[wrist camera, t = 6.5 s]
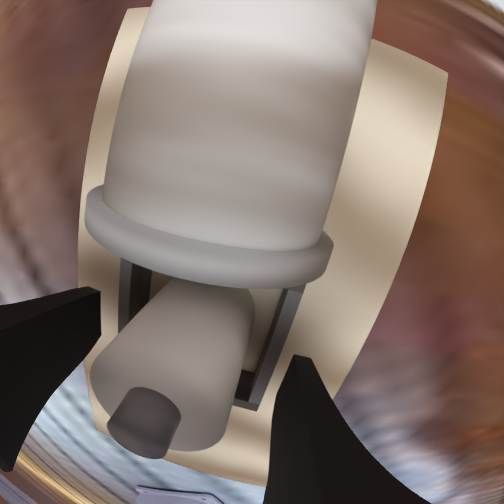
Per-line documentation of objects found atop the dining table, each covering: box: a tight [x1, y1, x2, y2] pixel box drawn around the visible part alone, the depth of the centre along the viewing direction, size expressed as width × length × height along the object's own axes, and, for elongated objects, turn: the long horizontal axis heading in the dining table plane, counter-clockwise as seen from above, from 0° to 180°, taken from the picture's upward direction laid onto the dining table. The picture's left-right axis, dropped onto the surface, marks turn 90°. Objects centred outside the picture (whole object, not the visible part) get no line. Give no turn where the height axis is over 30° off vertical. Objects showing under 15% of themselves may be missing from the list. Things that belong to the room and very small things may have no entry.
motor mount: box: [78, 0, 448, 487], centre depth 10 cm, size 27×14×7 cm, turn 166°
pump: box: [90, 277, 255, 459], centre depth 9 cm, size 4×4×7 cm
